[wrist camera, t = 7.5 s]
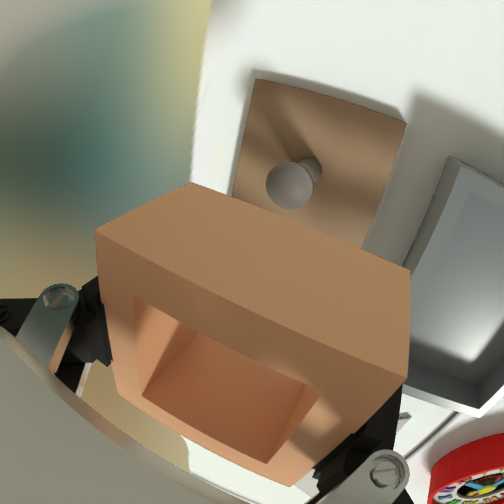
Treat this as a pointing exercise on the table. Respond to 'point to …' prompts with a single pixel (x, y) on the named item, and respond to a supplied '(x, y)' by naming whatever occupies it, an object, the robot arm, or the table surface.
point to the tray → (458, 294)
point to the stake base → (316, 159)
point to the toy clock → (470, 474)
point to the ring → (250, 328)
